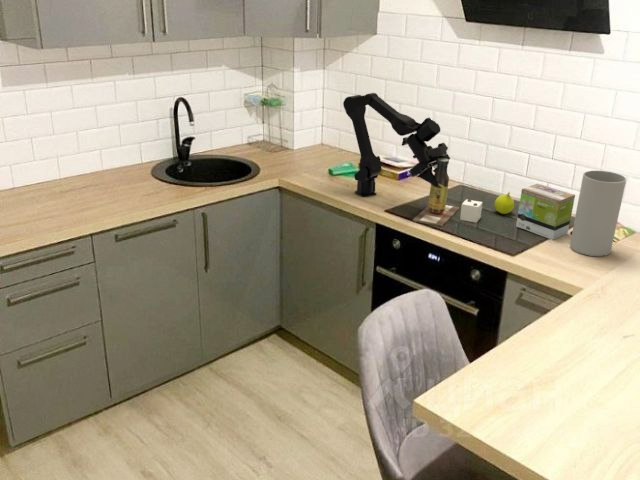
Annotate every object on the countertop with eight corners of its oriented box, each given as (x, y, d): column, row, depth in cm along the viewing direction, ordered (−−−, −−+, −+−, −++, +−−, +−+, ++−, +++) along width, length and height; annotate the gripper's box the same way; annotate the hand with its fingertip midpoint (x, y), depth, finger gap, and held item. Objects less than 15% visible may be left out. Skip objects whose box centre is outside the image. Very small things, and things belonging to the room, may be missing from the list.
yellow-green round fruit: (508, 218, 235) (512, 192, 231) (490, 213, 239) (493, 188, 235) (515, 212, 240) (519, 187, 236) (498, 208, 244) (501, 183, 240)
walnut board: (431, 203, 247) (431, 202, 247) (459, 209, 242) (459, 207, 242) (412, 221, 230) (412, 219, 230) (442, 226, 225) (442, 224, 225)
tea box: (514, 227, 226) (520, 187, 220) (530, 221, 232) (537, 182, 226) (552, 241, 216) (560, 199, 210) (568, 234, 222) (576, 193, 216)
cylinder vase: (574, 255, 205) (588, 181, 195) (565, 240, 216) (579, 169, 206) (615, 258, 203) (631, 183, 193) (604, 243, 215) (619, 171, 205)
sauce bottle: (424, 209, 236) (429, 157, 228) (436, 206, 240) (441, 155, 232) (436, 215, 232) (442, 162, 224) (448, 212, 235) (454, 160, 227)
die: (464, 214, 237) (466, 197, 234) (480, 217, 235) (482, 200, 232) (460, 219, 232) (462, 202, 230) (476, 222, 230) (478, 205, 227)
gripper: (419, 140, 221) (444, 178, 218) (448, 132, 234) (471, 167, 231) (399, 158, 229) (422, 194, 226) (428, 148, 241) (450, 183, 239)
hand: (442, 184), depth 231 cm, fingers closed on sauce bottle, 6 cm apart
